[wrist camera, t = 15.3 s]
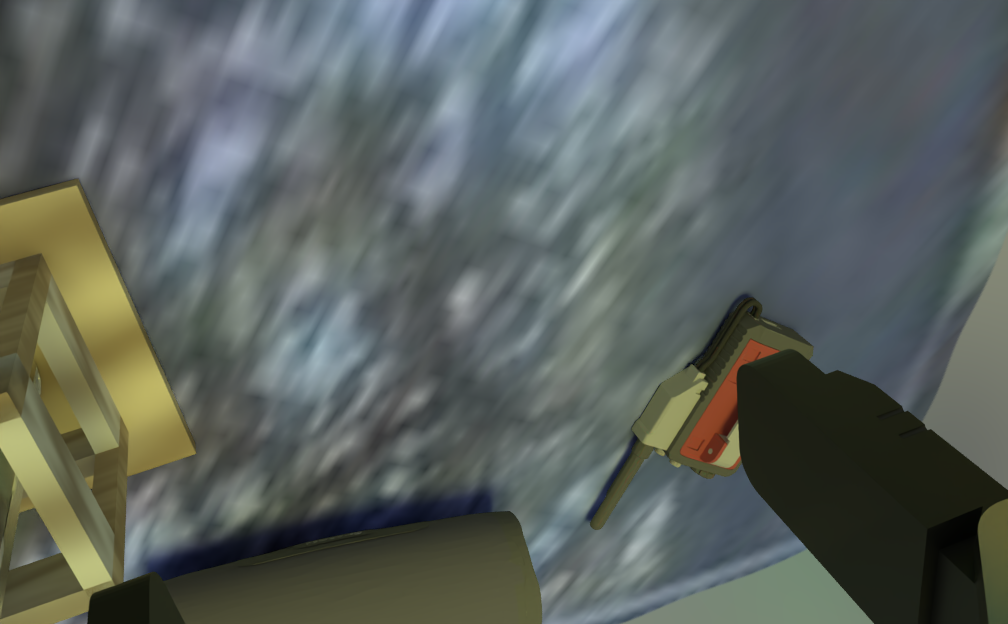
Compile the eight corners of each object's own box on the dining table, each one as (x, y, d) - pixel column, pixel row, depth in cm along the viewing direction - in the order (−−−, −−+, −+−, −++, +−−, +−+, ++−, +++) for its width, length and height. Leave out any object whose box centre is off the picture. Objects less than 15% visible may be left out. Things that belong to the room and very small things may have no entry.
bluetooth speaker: (162, 648, 60) (164, 782, 52) (137, 538, 56) (135, 666, 47) (493, 571, 67) (542, 679, 58) (495, 468, 62) (548, 569, 54)
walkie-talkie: (717, 278, 61) (574, 513, 67) (752, 308, 58) (598, 554, 64) (806, 316, 66) (664, 534, 71) (845, 346, 62) (692, 573, 68)
